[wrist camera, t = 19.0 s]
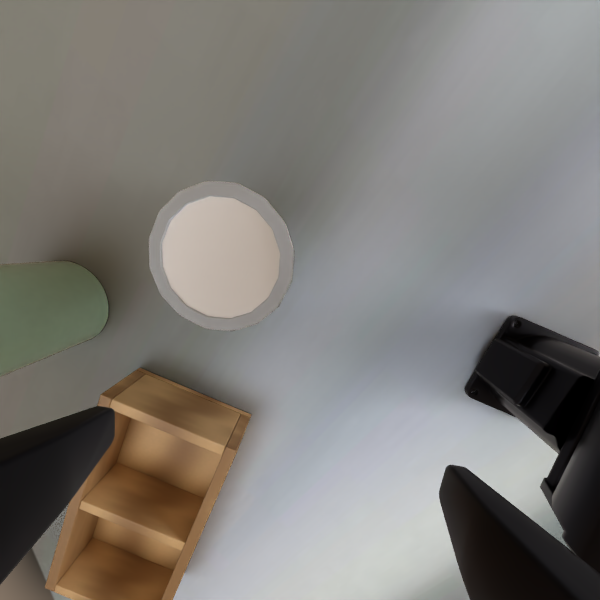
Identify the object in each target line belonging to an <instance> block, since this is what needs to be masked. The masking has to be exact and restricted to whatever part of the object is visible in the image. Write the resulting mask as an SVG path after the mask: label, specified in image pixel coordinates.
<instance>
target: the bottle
mask: <svg viewBox="0 0 600 600" xmlns="http://www.w3.org/2000/svg"><path fill="white" fill-rule="evenodd" d="M108 310H109V307H108V300H107V296H106V293H105V291H104V289H103V287H102V285H101V284H100V282H99V281H98V279H97V278H96V277H95V276H94V275H93V274H92V273H91V272H90V271H88V270H87V269H86V268H84V267H82V266H80V265H78V264H76V263H73V262H69V261H44V262H28V263H12V264H0V377H2V376H4V375H6V374H9V373H11V372H14V371H16V370H19V369H21V368H23V367H26V366H28V365H31V364H33V363H35V362H38V361H40V360H43V359H45V358H47V357H50V356H52V355H55V354H57V353H59V352H62V351H64V350H67V349H69V348H71V347H74V346H76V345H79V344H81V343H84V342H86V341H88V340H91V339H92V338H94V337H96V336H97V335H98V334H99V333H100V332H101V331H102V329H103V328H104V326H105V324H106V322H107V318H108Z"/></svg>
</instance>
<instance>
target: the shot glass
mask: <svg viewBox="0 0 600 600" xmlns="http://www.w3.org/2000/svg"><path fill="white" fill-rule="evenodd" d="M293 262H294V248H293V245H292V242H291V239H290V235H289V232H288V229H287V226H286V223H285V221H284V220H283V219H282V218H281V217H280V215H279V214H278V213H277V212H276V210H275V209H274V208H273V207H272V206H271V204H270V203H269V202H268V201H267V199H266V198H265V197H263V196H261V195H259V194H257V193H255V192H253V191H252V190H250V189H248V188H246V187H244V186H242V185H240V184H238V183H231V182H218V181H205V182H202V183H200V184H197V185H194V186H191V187H189V188H186V189H183V190H181V191H179V192H178V193H177V194H176V195H175V196H174V197H173V198H172V199H171V200H170V201H169V202H168V203H167V204H166V205H165V206H164V207H163V208H162V209H161V210H160V211H159V213H158V216H157V218H156V221H155V224H154V226H153V229H152V232H151V234H150V237H149V266H150V270H151V272H152V275H153V277H154V280H155V282H156V285H157V287H158V290H159V292H160V294H161V296H162V297H163V298H164V299H165V300H166V301H167V302H168V303H169V304H170V305H171V307H172V308H173V309H174V310H175V311H176V312H177V313H178V314H179V315H180V316H182V317H183V318H185V319H187V320H189V321H191V322H193V323H195V324H197V325H199V326H201V327H203V328H205V329H215V330H224V331H235V330H238V329H241V328H245V327H248V326H252V325H255V324H258V323H259V322H261V321H262V320H263V319H264V318H265V317H267V316H268V315H269V314H270V313H272V312H273V311H274V310H275V309H276V308H278V307H279V305H280V303H281V301H282V300H283V298H284V296H285V294H286V292H287V290H288V288H289V286H290V284H291V282H292V275H293Z"/></svg>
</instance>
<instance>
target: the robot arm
mask: <svg viewBox="0 0 600 600" xmlns="http://www.w3.org/2000/svg"><path fill="white" fill-rule="evenodd" d="M515 321H517V324H516V325H515V326H514V325H513V324H514V322H515ZM473 389H475V391H474V392H472V393H471V391H472V390H473ZM465 393H466V394H467V395H468V396H469V397H470V398H472V399H475V400H477V401H479V402H482V403H484V404H486V405H489V406H491V407H493V408H496V409H498V410H500V411H503V412H505V413H507V414H510V415H512V416H514V417H517V418H518V419H519V420H520V421H521V422H523V423H524V424H525V425H526V426H527V427H528V428H529V429H531V430H532V431H533V432H534V433H535V434H536V435H537V436H539V437H540V438H541V439H542V440H543V441H544V442H545V443H547V444H548V445H549V446H550V447H551V448H552V449H553V450H555V451H556V452H557V453H558V454H559V455H558V457H557V459H556V461H555V463H554V465H553V467H552V469H551V471H550V473H549V475H548V477H547V478H544V479H543V482H542V484H541V486H540V487H541V489H542V491H543V493H544V495H545V497H546V499H547V500H548V502H549V504H550V506H551V508H552V510H553V511H554V513H555V515H556V517H557V519H558V521H559V523H560V524H561V526H562V528H563V530H564V532H563V534H562V537H563V539H564V541H565V542H566V544H567V546H568V547H569V548H570V549H571V550H569V549H568V548H567V547H566V546H564V545H563V544H562V543H561V542H559V541H558V540H557V539H556V538H554V537H553V536H552V535H550V534H549V533H548V532H547V531H545V530H544V529H543V528H542V527H540V526H539V525H538V524H537V523H535V522H534V521H533V520H531V519H530V518H529V517H528V516H526V515H525V514H524V513H523V512H521V511H520V510H519V509H517V508H516V507H515V506H514V505H512V504H511V503H510V502H509V501H507V500H506V499H505V498H504V497H502V496H501V495H500V494H498V493H497V492H496V491H495V490H493V489H492V488H491V487H490V486H488V485H487V484H486V483H485V482H483V481H482V480H481V479H479V478H478V477H477V476H476V475H474V474H473V473H472V472H471V471H469V470H468V469H467V468H465V467H461V466H455V465H448V466H447V467H446V470H445V473H444V476H443V480H442V483H441V487H440V491H439V498H440V503H441V506H442V510H443V513H444V517H445V520H446V524H447V527H448V531H449V534H450V538H451V542H452V545H453V549H454V552H455V556H456V559H457V562H458V566H459V569H460V572H461V575H462V578H463V581H464V584H465V587H466V589H467V592H468V595H469V597H470V600H600V357H599V352H598V351H597V350H595V349H592V348H590V347H588V346H586V345H583V344H581V343H579V342H576V341H574V340H572V339H569V338H567V337H565V336H562V335H560V334H558V333H556V332H553V331H551V330H549V329H546V328H544V327H542V326H539V325H537V324H535V323H532V322H530V321H528V320H526V319H523V318H521V317H518V316H511V317H509V318H508V319H507V320H506V322H505V323H504V325H503V327H502V328H501V330H500V332H499V333H498V335H497V336H496V338H495V340H494V341H493V342H492V344H491V345H490V347H489V348H488V350H487V352H486V353H485V355H484V357H483V358H482V360H481V361H480V363H479V365H478V366H477V368H476V371H475V372H474V374H473V375H472V377H471V379H470V380H469V382H468V384H467V385H466V387H465ZM114 437H115V411H114V409H112V408H109V407H103V406H96V407H93V408H90V409H87V410H84V411H81V412H78V413H75V414H72V415H69V416H66V417H63V418H60V419H57V420H54V421H51V422H48V423H45V424H42V425H39V426H36V427H33V428H30V429H27V430H24V431H21V432H18V433H15V434H13V435H10V436H7V437H4V438H1V439H0V584H1V583H2V582H3V581H4V580H5V579H6V577H7V576H8V575H9V574H10V572H11V571H12V570H13V569H14V568H15V567H16V566H17V564H18V563H19V562H20V561H21V560H22V558H23V557H24V556H25V555H26V554H27V552H28V551H29V550H30V549H31V548H32V547H33V545H34V544H35V543H36V542H37V541H38V539H39V538H40V537H41V536H42V535H43V533H44V532H45V531H46V530H47V529H48V528H49V526H50V525H51V524H52V523H53V522H54V520H55V519H56V518H57V517H58V516H59V514H60V513H61V512H62V511H63V510H64V508H65V507H66V506H67V505H68V503H69V502H70V501H71V499H72V498H73V497H74V496H75V494H76V493H77V491H78V490H79V489H80V487H81V486H82V485H83V483H84V482H85V480H86V479H87V478H88V476H89V475H90V473H91V472H92V471H93V469H94V468H95V466H96V465H97V464H98V462H99V461H100V459H101V458H102V457H103V455H104V454H105V453H106V451H107V450H108V448H109V447H110V446H111V444H112V442H113V440H114Z"/></svg>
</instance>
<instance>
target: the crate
mask: <svg viewBox="0 0 600 600" xmlns="http://www.w3.org/2000/svg"><path fill="white" fill-rule="evenodd" d="M97 406H103V407H109V408H112V409H114V411H115V437H114V440H113V442H112V444H111V446H110V447H109V448H108V450H107V451H106V453H105V454H104V455H103V457H102V458H101V459H100V461H99V462H98V464H97V465H96V466H95V468H94V469H93V471H92V472H91V473H90V475H89V476H88V478H87V479H86V480H85V482H84V483H83V485H82V486H81V487H80V489H79V490H78V491H77V493H76V494H75V496H74V497H73V498H72V499H71V501H70V502H69V506H68V509H67V513H66V516H65V520H64V523H63V527H62V530H61V534H60V537H59V540H58V544H57V547H56V551H55V554H54V558H53V561H52V565H51V568H50V572H49V575H48V579H47V582H46V586H45V588H47V589H49V590H51V591H54V592H56V593H58V594H61V595H63V596H65V597H68V598H70V599H73V600H173V598H174V595H175V593H176V591H177V588H178V586H179V584H180V582H181V579H182V577H183V575H184V572H185V570H186V568H187V565H188V563H189V561H190V559H191V556H192V554H193V552H194V549H195V547H196V545H197V542H198V540H199V538H200V536H201V533H202V531H203V529H204V526H205V524H206V522H207V519H208V517H209V515H210V513H211V510H212V508H213V506H214V503H215V501H216V499H217V496H218V494H219V492H220V490H221V487H222V485H223V483H224V480H225V478H226V476H227V474H228V471H229V469H230V467H231V464H232V462H233V460H234V457H235V455H236V453H237V450H238V448H239V445H240V443H241V440H242V438H243V435H244V433H245V430H246V428H247V425H248V423H249V420H250V418H251V414H249V413H246V412H244V411H241V410H239V409H237V408H234V407H232V406H230V405H227V404H225V403H222V402H220V401H218V400H215V399H213V398H210V397H208V396H206V395H203V394H201V393H199V392H196V391H194V390H191V389H189V388H187V387H184V386H182V385H180V384H177V383H175V382H172V381H170V380H168V379H165V378H163V377H160V376H158V375H156V374H153V373H151V372H149V371H146V370H144V369H141V368H138V369H137V370H136V371H134V372H133V373H131V374H130V375H128V376H127V377H125V378H124V379H123V380H121V381H120V382H118V383H117V384H115V385H114V386H112V387H111V388H109V389H108V390H107V391H105V392H104V393H102V394H101V395H100V398H99V402H98V405H97Z"/></svg>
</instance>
